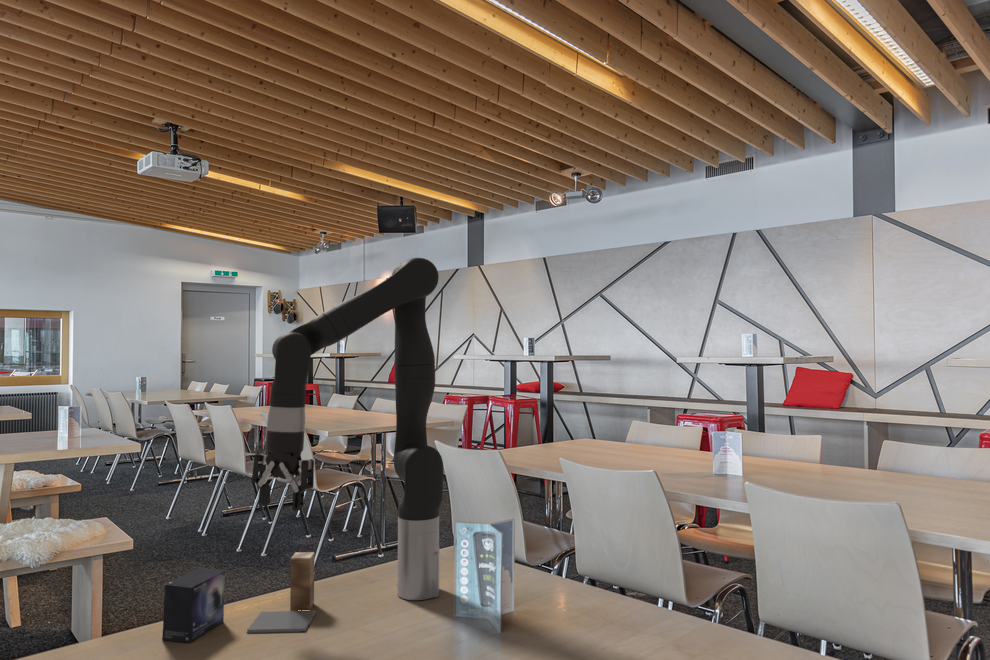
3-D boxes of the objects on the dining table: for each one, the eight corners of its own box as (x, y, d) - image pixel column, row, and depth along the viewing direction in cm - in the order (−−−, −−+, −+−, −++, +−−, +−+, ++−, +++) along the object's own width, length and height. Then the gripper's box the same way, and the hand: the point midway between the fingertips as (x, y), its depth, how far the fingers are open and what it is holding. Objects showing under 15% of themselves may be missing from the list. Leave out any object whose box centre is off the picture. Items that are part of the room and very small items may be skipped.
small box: (191, 644, 122) (192, 586, 122) (160, 641, 123) (161, 584, 124) (225, 621, 132) (226, 568, 133) (197, 619, 134) (197, 566, 134)
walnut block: (313, 603, 142) (314, 552, 142) (309, 611, 138) (310, 557, 138) (295, 604, 141) (295, 552, 142) (290, 611, 137) (290, 558, 138)
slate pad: (315, 613, 136) (315, 610, 136) (305, 631, 127) (305, 628, 127) (261, 614, 136) (261, 611, 136) (247, 632, 127) (247, 629, 127)
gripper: (325, 430, 138) (319, 509, 137) (272, 424, 143) (267, 500, 142) (300, 432, 131) (295, 515, 130) (246, 426, 137) (240, 506, 136)
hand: (280, 507), depth 136 cm, fingers open, 8 cm apart
